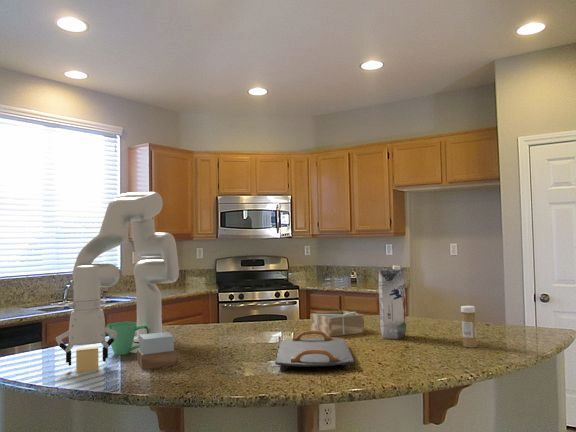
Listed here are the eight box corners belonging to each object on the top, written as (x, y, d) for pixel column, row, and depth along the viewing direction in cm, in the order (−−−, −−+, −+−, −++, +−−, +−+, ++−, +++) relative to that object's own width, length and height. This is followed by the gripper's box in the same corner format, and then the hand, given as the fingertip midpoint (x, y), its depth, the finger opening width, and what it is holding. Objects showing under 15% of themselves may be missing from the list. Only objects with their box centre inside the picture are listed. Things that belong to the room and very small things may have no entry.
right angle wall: (356, 330, 199) (355, 311, 199) (343, 334, 189) (342, 315, 189) (331, 328, 205) (330, 311, 206) (317, 333, 195) (316, 314, 196)
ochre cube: (76, 368, 147) (76, 348, 148) (97, 365, 150) (97, 346, 150) (76, 372, 142) (76, 352, 142) (98, 370, 144) (98, 349, 145)
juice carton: (379, 339, 179) (376, 266, 180) (384, 334, 189) (382, 264, 190) (403, 340, 176) (400, 266, 177) (407, 335, 185) (404, 264, 187)
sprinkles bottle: (479, 346, 161) (477, 306, 162) (471, 348, 159) (469, 307, 160) (468, 344, 165) (466, 305, 166) (459, 346, 163) (457, 306, 164)
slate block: (139, 349, 153) (139, 334, 153) (167, 345, 157) (167, 331, 157) (143, 354, 145) (143, 339, 145) (173, 350, 148) (173, 336, 149)
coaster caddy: (310, 330, 201) (310, 313, 201) (343, 326, 208) (343, 310, 208) (329, 336, 186) (329, 318, 187) (364, 332, 193) (363, 314, 194)
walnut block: (137, 363, 153) (137, 348, 153) (169, 359, 157) (169, 345, 157) (141, 370, 144) (141, 354, 144) (175, 365, 148) (175, 351, 148)
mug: (103, 357, 161) (103, 326, 162) (111, 350, 171) (111, 322, 172) (147, 355, 163) (147, 325, 163) (153, 348, 172) (153, 320, 173)
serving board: (356, 374, 133) (356, 351, 134) (273, 375, 134) (272, 353, 134) (344, 345, 172) (343, 327, 172) (279, 346, 172) (279, 329, 173)
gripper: (55, 309, 140) (55, 369, 139) (118, 304, 147) (118, 361, 146) (56, 306, 147) (55, 363, 146) (116, 302, 154) (116, 356, 153)
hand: (87, 362), depth 146 cm, fingers open, 9 cm apart
